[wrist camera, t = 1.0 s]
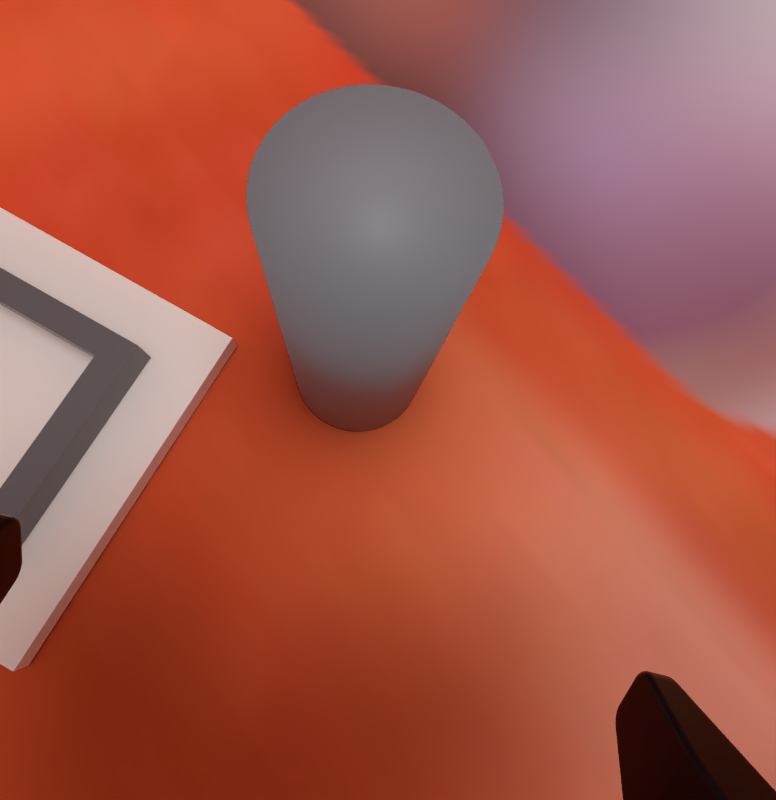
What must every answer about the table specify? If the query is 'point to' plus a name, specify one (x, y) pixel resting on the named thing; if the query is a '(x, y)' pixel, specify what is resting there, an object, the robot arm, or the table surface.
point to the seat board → (82, 413)
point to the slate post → (370, 242)
